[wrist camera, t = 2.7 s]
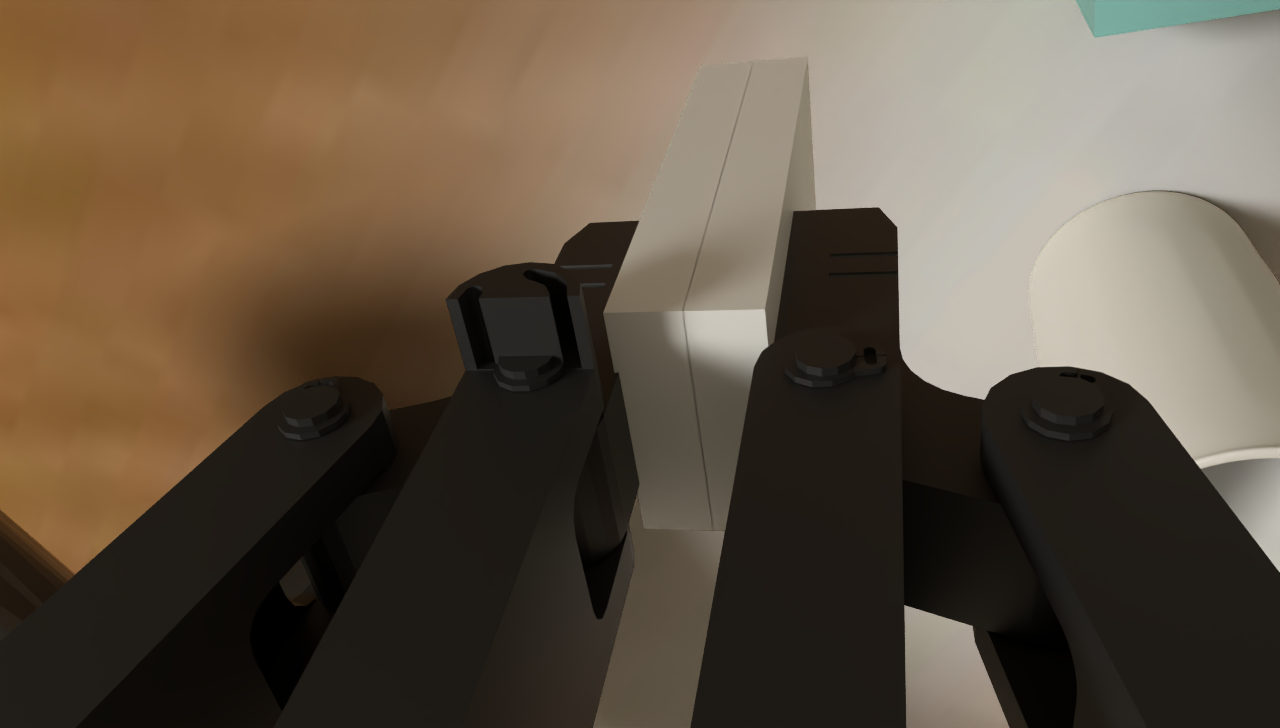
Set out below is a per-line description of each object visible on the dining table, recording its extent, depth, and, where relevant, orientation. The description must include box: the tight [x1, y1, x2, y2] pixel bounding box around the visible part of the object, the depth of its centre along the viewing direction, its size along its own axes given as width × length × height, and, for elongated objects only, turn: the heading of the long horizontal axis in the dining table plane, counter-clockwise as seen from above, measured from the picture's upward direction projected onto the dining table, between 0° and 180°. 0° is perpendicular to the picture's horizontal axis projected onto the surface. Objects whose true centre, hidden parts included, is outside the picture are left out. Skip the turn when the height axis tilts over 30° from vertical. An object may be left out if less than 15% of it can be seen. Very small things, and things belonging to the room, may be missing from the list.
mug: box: [1028, 191, 1280, 572], centre depth 28 cm, size 10×7×12 cm, turn 0°
